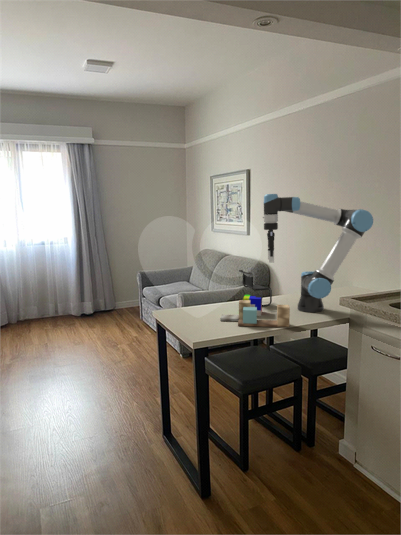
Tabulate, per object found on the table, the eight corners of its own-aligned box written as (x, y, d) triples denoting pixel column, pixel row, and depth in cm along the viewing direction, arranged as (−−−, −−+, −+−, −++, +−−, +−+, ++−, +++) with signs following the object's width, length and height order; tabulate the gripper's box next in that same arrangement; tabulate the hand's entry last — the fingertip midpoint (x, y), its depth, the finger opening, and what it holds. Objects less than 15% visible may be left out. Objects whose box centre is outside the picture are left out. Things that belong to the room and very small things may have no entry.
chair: (237, 303, 256) (237, 269, 253) (261, 301, 262) (262, 268, 259) (247, 308, 244) (247, 272, 241) (272, 305, 250) (272, 270, 247)
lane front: (288, 322, 210) (288, 304, 209) (289, 327, 203) (289, 308, 201) (238, 321, 214) (238, 303, 213) (238, 325, 207) (237, 306, 205)
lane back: (250, 317, 222) (250, 299, 221) (249, 321, 214) (250, 303, 213) (221, 316, 225) (221, 299, 223) (220, 320, 217) (220, 302, 215)
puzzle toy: (260, 316, 226) (261, 298, 225) (243, 315, 228) (243, 298, 227) (261, 311, 236) (261, 295, 234) (244, 311, 238) (244, 294, 236)
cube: (256, 320, 212) (256, 307, 211) (256, 323, 205) (256, 310, 204) (243, 319, 213) (243, 306, 212) (242, 323, 206) (242, 310, 205)
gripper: (263, 222, 232) (263, 258, 235) (264, 223, 208) (264, 263, 211) (276, 221, 231) (276, 258, 234) (279, 223, 207) (279, 263, 210)
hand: (270, 261), depth 222 cm, fingers open, 13 cm apart
